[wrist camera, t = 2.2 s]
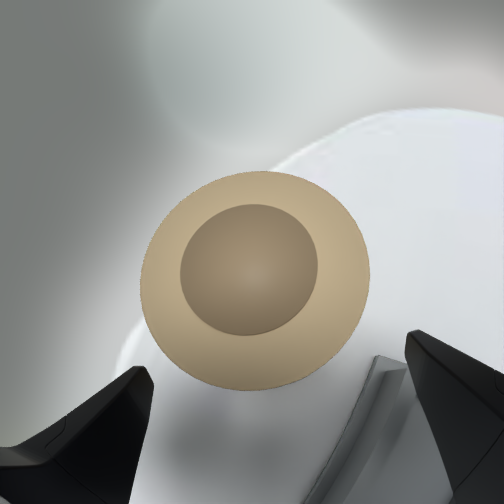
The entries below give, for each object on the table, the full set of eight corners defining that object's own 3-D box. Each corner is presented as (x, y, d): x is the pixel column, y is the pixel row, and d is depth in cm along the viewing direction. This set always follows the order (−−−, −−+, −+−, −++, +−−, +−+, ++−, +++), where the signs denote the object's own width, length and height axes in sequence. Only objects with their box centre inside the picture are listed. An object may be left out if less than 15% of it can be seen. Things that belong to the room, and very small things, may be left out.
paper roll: (308, 394, 17) (314, 432, 5) (229, 361, 18) (103, 322, 7) (340, 315, 18) (393, 200, 7) (263, 287, 20) (202, 152, 8)
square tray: (438, 532, 9) (464, 558, 5) (298, 511, 13) (294, 546, 8) (504, 393, 13) (545, 389, 8) (375, 356, 17) (398, 348, 12)
